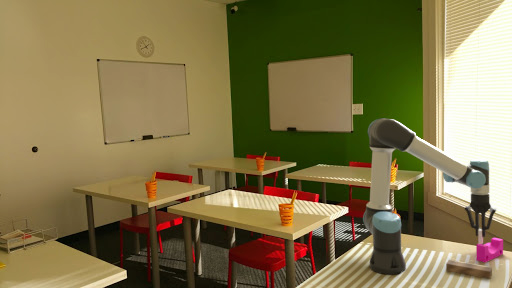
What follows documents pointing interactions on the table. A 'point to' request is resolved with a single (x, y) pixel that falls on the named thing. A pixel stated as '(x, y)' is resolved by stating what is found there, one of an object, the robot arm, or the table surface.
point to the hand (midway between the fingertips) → (480, 243)
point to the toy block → (489, 250)
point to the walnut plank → (469, 269)
